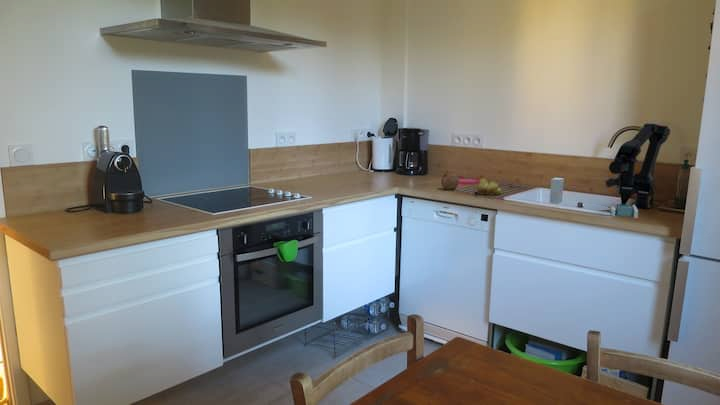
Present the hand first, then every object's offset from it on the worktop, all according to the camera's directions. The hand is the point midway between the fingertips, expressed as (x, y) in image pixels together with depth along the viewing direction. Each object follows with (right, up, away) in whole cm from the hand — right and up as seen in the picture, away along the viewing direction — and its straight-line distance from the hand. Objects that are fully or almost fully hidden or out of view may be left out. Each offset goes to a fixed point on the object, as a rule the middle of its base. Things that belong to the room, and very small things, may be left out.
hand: (622, 206), depth 236 cm
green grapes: (-52, +6, +37) cm, 64 cm away
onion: (-71, +9, +49) cm, 87 cm away
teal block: (-3, -4, -7) cm, 8 cm away
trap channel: (-3, -3, -5) cm, 7 cm away
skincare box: (-24, +1, +17) cm, 30 cm away
